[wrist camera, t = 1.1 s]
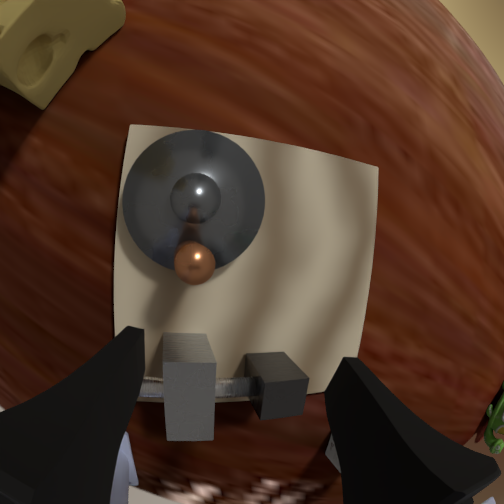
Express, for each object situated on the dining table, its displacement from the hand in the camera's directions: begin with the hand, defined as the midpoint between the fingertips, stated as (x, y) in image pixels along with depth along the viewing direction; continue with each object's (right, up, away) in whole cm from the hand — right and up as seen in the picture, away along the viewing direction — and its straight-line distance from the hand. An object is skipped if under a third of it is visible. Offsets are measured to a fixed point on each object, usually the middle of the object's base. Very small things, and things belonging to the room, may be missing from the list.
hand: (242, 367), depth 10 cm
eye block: (-5, -4, +11) cm, 13 cm away
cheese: (-17, +21, +5) cm, 28 cm away
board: (+1, +2, +12) cm, 12 cm away
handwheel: (-3, +7, +9) cm, 12 cm away
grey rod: (-3, -5, +10) cm, 11 cm away
